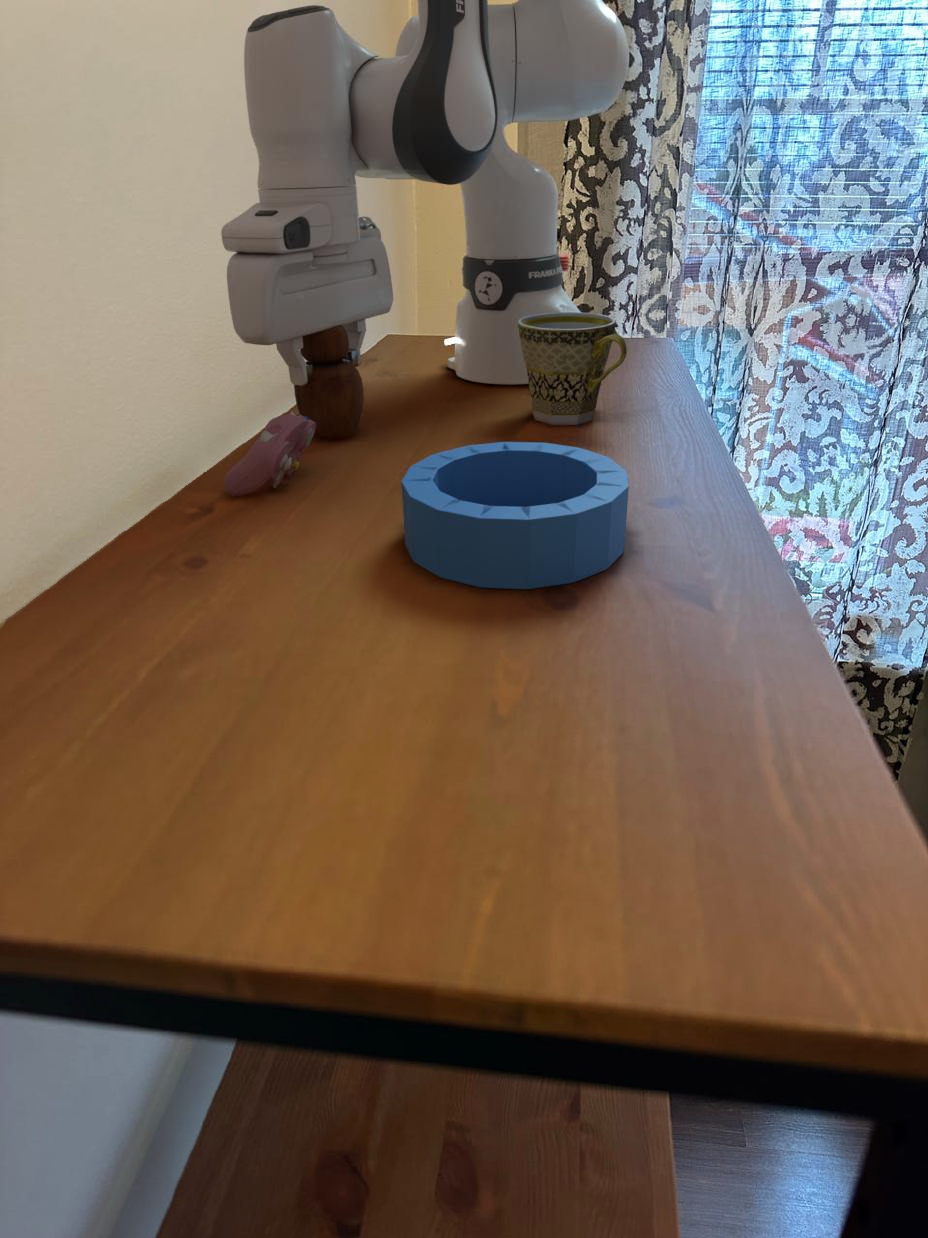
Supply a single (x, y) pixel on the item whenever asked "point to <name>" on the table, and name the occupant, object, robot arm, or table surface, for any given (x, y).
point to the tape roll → (515, 514)
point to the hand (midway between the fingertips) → (327, 375)
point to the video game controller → (271, 455)
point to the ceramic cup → (567, 363)
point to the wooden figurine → (330, 385)
